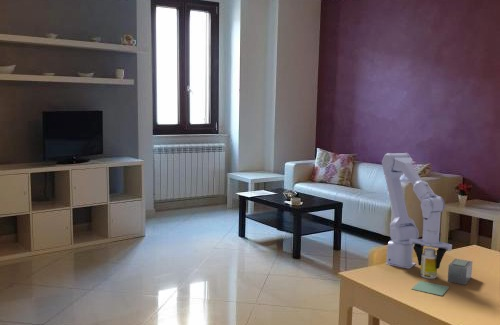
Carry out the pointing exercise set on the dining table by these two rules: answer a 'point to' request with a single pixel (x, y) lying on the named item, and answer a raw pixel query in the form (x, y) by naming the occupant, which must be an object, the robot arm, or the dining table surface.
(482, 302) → the dining table surface
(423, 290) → the pad
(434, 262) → the supplement bottle
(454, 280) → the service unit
